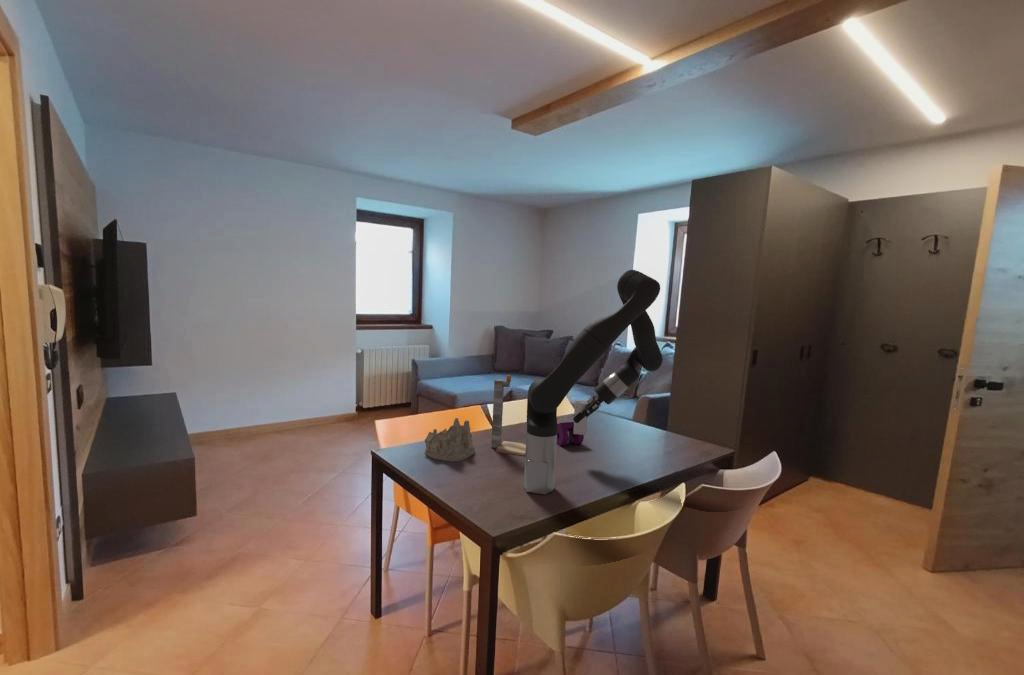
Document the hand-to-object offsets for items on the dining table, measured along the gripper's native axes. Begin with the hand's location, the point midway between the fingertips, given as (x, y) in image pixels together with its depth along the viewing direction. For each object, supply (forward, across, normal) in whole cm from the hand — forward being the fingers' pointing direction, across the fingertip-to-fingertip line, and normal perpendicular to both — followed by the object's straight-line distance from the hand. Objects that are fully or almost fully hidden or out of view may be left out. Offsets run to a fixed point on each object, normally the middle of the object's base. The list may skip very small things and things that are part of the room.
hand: (575, 419), depth 156 cm
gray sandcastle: (+42, -4, +20) cm, 47 cm away
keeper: (+28, +7, +7) cm, 29 cm away
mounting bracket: (+15, +25, -7) cm, 30 cm away
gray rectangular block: (+2, 0, -5) cm, 5 cm away
